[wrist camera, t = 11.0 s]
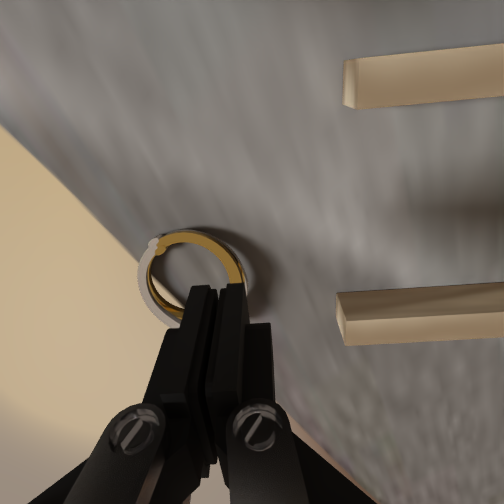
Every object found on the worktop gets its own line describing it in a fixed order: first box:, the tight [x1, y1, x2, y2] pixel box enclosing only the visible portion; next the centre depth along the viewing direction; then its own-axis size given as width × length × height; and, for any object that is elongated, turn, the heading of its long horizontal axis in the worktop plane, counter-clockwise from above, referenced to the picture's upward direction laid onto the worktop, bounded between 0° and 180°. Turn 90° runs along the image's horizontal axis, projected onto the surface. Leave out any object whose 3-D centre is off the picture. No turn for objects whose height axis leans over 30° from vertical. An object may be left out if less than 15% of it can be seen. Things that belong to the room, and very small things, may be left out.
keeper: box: [336, 43, 504, 346], centre depth 17 cm, size 18×14×8 cm
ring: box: [138, 229, 248, 328], centre depth 22 cm, size 7×3×8 cm
